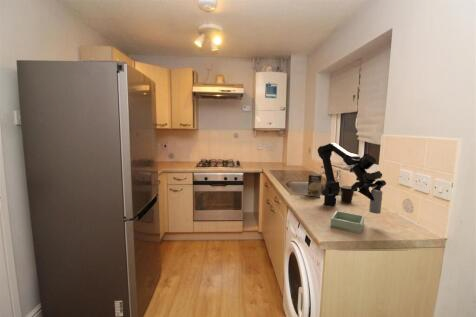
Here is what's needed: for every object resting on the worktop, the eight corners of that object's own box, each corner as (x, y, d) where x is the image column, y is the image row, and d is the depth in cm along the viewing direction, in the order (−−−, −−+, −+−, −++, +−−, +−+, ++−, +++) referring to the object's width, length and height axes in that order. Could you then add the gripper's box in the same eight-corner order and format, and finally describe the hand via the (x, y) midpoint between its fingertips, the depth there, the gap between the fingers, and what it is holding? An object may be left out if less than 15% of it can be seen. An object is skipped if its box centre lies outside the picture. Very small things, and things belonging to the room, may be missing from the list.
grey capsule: (368, 212, 118) (370, 191, 117) (369, 209, 122) (371, 189, 121) (380, 214, 116) (382, 193, 114) (380, 211, 120) (382, 190, 118)
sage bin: (330, 226, 117) (331, 218, 116) (335, 218, 128) (336, 210, 127) (360, 233, 109) (361, 224, 109) (363, 224, 121) (364, 215, 120)
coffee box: (307, 196, 169) (308, 174, 167) (307, 194, 175) (308, 173, 173) (320, 197, 166) (321, 175, 164) (320, 195, 172) (321, 174, 170)
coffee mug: (352, 204, 153) (353, 189, 152) (338, 201, 158) (339, 187, 157) (354, 199, 163) (355, 185, 162) (341, 197, 168) (342, 184, 166)
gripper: (357, 166, 117) (373, 193, 108) (385, 165, 123) (403, 190, 114) (344, 178, 126) (359, 204, 117) (371, 176, 132) (387, 201, 123)
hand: (377, 200), depth 117 cm, fingers closed on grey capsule, 5 cm apart
